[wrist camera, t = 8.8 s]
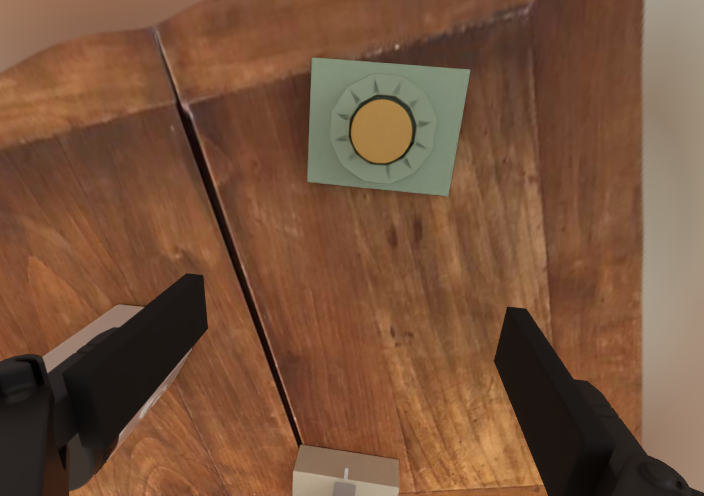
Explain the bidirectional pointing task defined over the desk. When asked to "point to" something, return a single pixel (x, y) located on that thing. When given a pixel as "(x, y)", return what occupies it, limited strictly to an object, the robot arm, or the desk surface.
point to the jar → (92, 460)
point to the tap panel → (343, 472)
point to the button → (381, 131)
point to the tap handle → (344, 489)
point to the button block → (411, 94)
